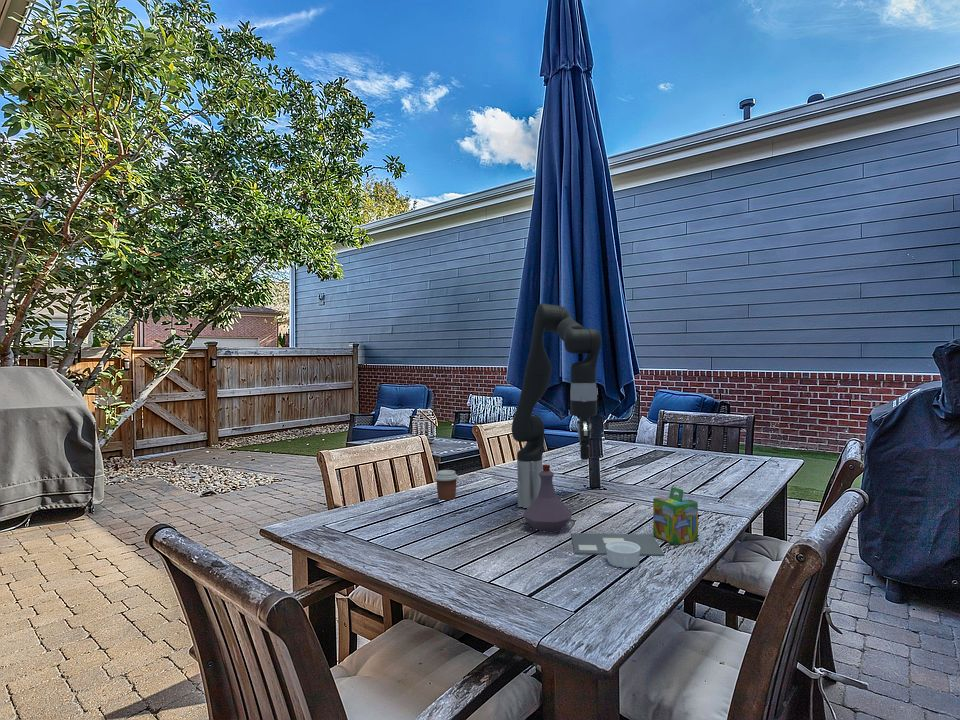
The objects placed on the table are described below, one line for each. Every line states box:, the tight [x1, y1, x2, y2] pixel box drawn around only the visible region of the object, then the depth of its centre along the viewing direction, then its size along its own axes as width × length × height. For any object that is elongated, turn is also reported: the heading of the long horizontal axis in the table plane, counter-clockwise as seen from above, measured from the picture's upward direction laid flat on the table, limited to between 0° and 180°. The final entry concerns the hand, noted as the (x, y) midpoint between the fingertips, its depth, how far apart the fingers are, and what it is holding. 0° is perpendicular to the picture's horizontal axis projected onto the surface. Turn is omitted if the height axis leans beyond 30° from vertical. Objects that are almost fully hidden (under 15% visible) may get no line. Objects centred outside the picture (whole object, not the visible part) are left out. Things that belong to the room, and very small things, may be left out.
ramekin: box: [605, 541, 641, 569], centre depth 133 cm, size 9×9×4 cm
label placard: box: [570, 532, 666, 557], centre depth 146 cm, size 24×16×1 cm, turn 83°
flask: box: [522, 464, 573, 533], centre depth 162 cm, size 16×16×20 cm
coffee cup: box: [433, 469, 459, 501], centre depth 194 cm, size 9×9×12 cm
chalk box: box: [652, 486, 699, 546], centre depth 150 cm, size 9×9×15 cm
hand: (584, 459), depth 145 cm, fingers closed
